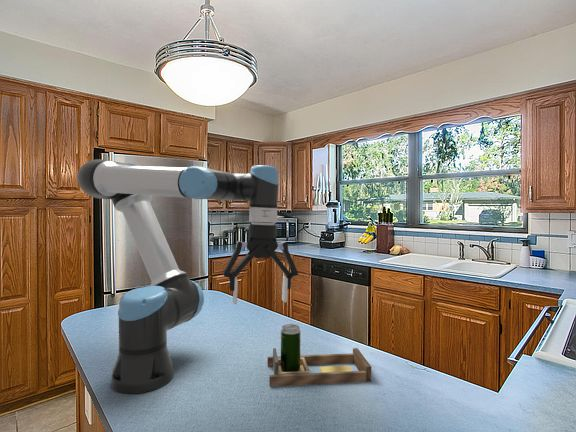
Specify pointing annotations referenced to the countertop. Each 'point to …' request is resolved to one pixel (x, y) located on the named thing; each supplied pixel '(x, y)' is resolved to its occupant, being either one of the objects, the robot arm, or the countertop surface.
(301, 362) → the wooden square tray
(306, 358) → the tray
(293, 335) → the beer can
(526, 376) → the countertop surface
